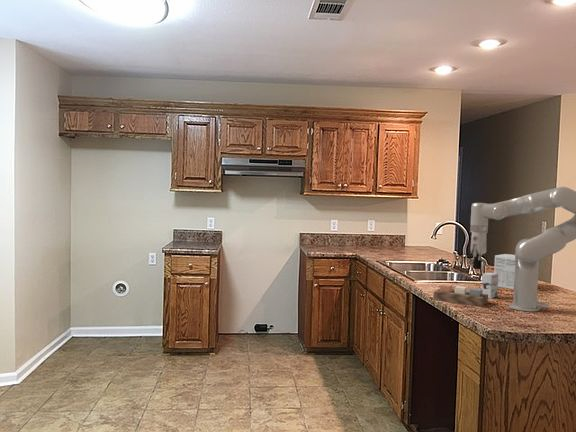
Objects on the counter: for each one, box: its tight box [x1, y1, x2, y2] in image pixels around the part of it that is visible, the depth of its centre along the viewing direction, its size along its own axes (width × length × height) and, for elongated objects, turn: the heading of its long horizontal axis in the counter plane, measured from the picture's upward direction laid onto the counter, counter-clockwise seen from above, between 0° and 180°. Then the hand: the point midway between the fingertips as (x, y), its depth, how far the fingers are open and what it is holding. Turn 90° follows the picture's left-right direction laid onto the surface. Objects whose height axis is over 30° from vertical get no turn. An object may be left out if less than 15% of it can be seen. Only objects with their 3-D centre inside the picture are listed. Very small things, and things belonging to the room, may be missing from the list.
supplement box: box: [493, 253, 515, 290], centre depth 271 cm, size 13×13×18 cm
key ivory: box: [454, 285, 468, 295], centre depth 231 cm, size 5×5×4 cm
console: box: [432, 288, 489, 308], centre depth 231 cm, size 22×12×4 cm, turn 54°
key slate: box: [469, 287, 483, 297], centre depth 226 cm, size 5×5×4 cm
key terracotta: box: [439, 283, 454, 292], centre depth 235 cm, size 5×5×4 cm
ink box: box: [481, 272, 499, 299], centre depth 243 cm, size 8×5×12 cm, turn 134°
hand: (476, 268), depth 226 cm, fingers closed
